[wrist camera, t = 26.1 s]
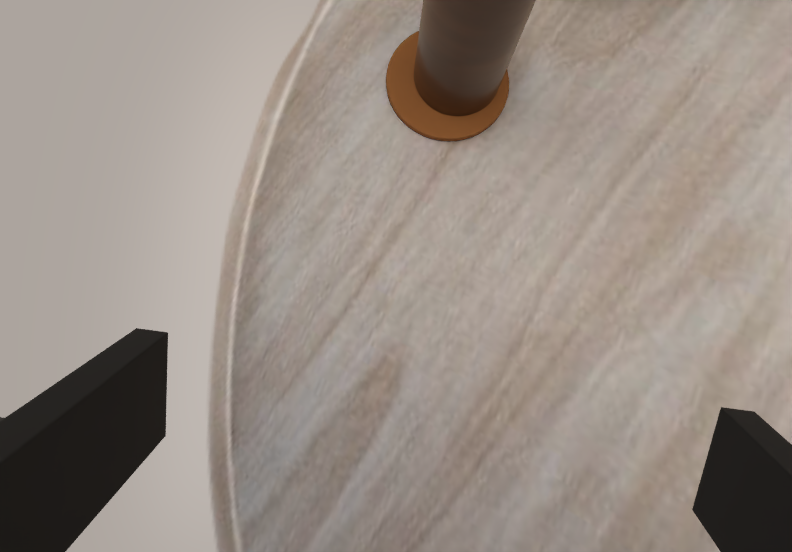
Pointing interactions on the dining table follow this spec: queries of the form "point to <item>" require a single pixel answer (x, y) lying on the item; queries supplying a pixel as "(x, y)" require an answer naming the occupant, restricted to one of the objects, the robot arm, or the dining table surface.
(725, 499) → the robot arm
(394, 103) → the coaster
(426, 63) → the pepper mill
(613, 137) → the dining table surface
